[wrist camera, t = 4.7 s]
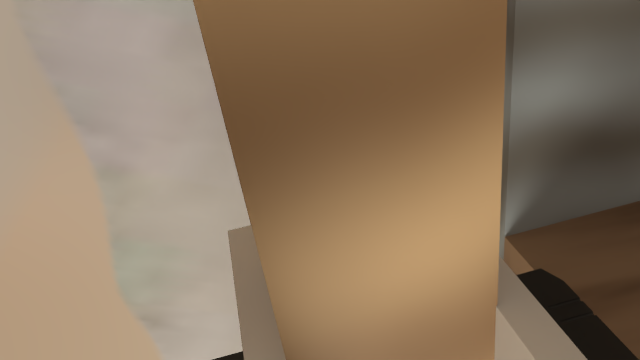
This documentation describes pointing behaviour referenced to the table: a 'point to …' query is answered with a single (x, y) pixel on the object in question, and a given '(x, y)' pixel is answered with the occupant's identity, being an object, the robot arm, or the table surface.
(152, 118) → the table surface
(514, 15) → the wooden u-shaped stand
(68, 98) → the table surface
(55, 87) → the table surface
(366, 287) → the bed rail
